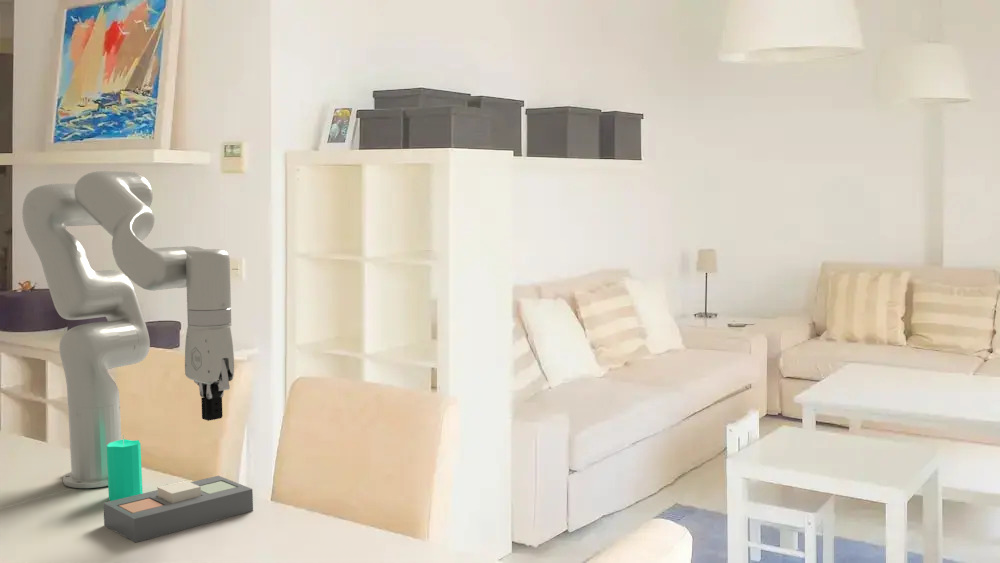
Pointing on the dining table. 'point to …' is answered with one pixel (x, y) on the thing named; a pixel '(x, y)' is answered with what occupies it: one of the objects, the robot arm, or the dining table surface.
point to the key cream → (179, 491)
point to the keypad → (177, 511)
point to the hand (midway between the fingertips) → (212, 418)
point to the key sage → (216, 487)
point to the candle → (124, 469)
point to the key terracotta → (140, 505)
